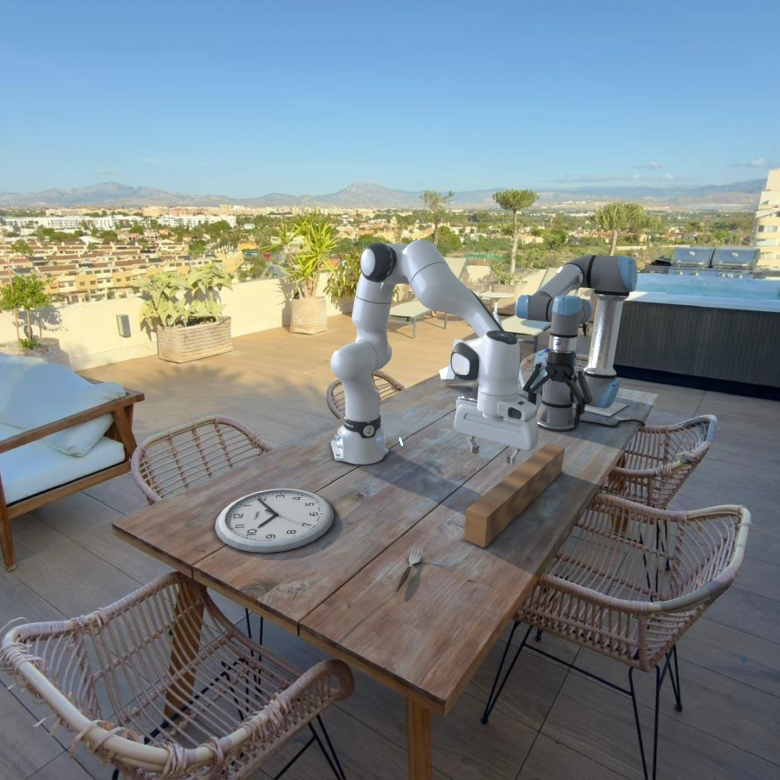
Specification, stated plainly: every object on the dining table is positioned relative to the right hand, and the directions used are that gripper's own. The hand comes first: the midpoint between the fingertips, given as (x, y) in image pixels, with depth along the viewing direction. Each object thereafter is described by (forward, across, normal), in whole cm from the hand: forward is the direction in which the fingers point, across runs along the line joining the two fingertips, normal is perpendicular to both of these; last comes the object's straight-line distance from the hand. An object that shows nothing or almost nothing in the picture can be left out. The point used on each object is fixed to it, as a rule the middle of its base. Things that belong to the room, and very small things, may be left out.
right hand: (553, 419), depth 157 cm
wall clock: (+19, -46, -69) cm, 85 cm away
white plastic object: (+19, -56, +64) cm, 87 cm away
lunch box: (+19, -31, +89) cm, 96 cm away
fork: (+19, -7, -66) cm, 69 cm away
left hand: (-2, 0, -42) cm, 42 cm away
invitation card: (+19, -6, +79) cm, 81 cm away
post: (+19, 0, -21) cm, 28 cm away
